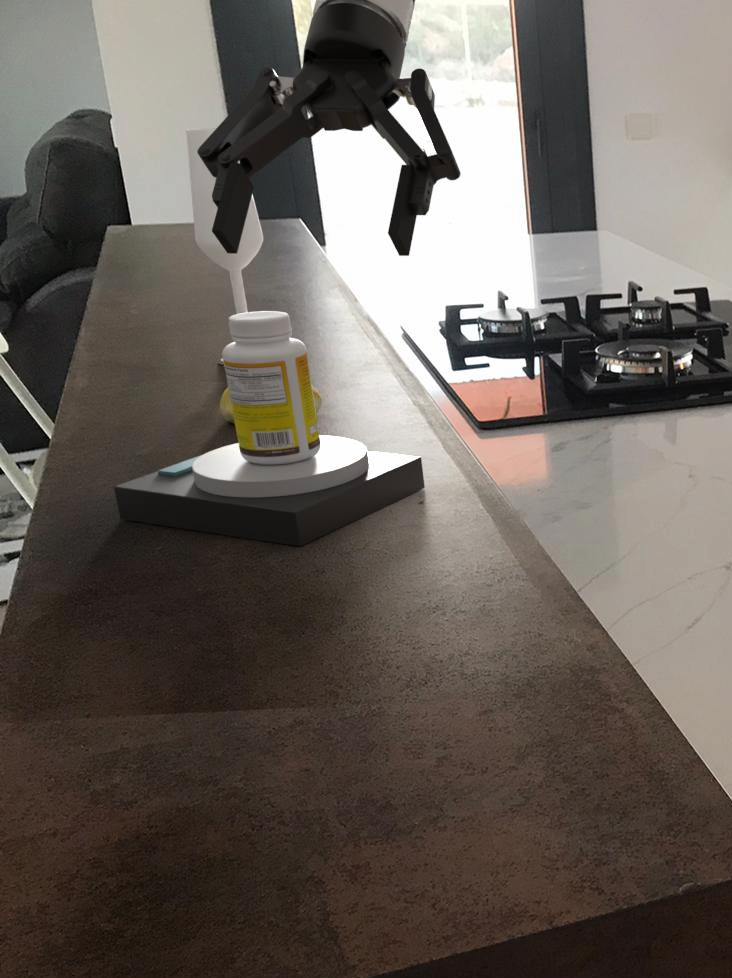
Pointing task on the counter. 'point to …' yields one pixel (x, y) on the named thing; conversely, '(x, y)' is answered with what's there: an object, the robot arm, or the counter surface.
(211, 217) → the champagne flute
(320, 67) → the robot arm
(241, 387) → the supplement bottle
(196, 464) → the scale
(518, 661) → the counter surface
